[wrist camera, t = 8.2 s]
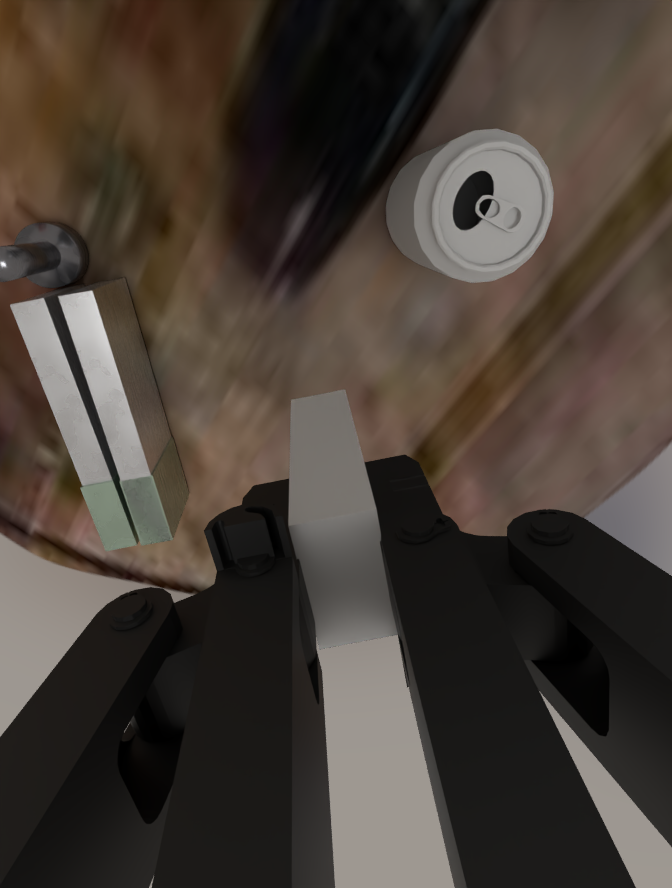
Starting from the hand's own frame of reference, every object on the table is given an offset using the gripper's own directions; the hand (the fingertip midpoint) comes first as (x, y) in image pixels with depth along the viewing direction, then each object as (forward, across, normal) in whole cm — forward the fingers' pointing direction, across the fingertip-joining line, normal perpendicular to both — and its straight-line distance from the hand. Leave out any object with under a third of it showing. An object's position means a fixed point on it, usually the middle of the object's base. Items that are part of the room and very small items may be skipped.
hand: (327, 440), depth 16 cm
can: (+28, +10, +4) cm, 30 cm away
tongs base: (+27, -16, -3) cm, 32 cm away
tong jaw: (+27, -13, -5) cm, 30 cm away
